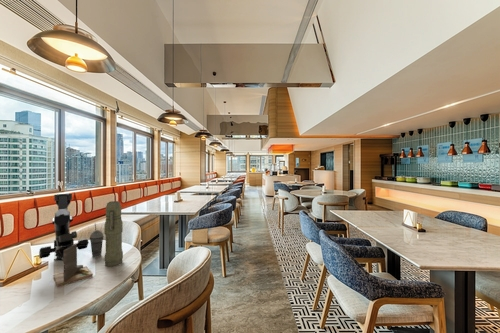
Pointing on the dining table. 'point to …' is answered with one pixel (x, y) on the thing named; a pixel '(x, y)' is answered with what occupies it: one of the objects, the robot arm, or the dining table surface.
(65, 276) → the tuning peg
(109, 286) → the dining table surface
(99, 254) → the beverage cup
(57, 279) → the dial plate
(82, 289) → the dining table surface
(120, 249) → the moai statue
